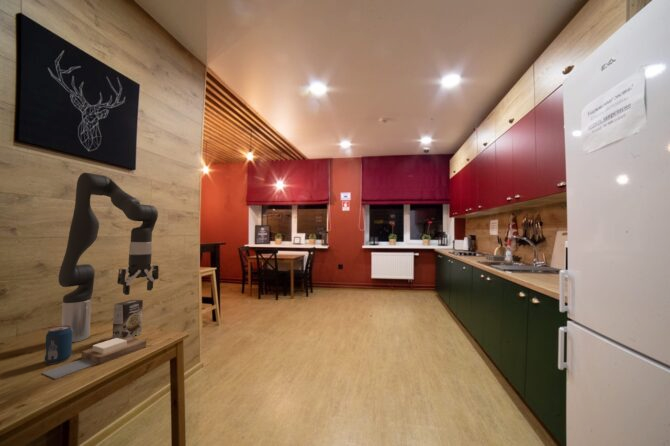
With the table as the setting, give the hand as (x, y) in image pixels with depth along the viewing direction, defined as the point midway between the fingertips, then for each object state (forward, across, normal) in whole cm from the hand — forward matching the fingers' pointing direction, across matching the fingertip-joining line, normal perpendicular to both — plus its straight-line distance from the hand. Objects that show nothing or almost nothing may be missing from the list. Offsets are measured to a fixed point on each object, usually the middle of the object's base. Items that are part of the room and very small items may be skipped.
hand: (138, 292), depth 108 cm
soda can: (+25, +16, -18) cm, 35 cm away
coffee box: (+25, -8, -19) cm, 32 cm away
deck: (+24, +4, -6) cm, 25 cm away
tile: (+22, +6, -6) cm, 23 cm away
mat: (+24, +17, -6) cm, 30 cm away
